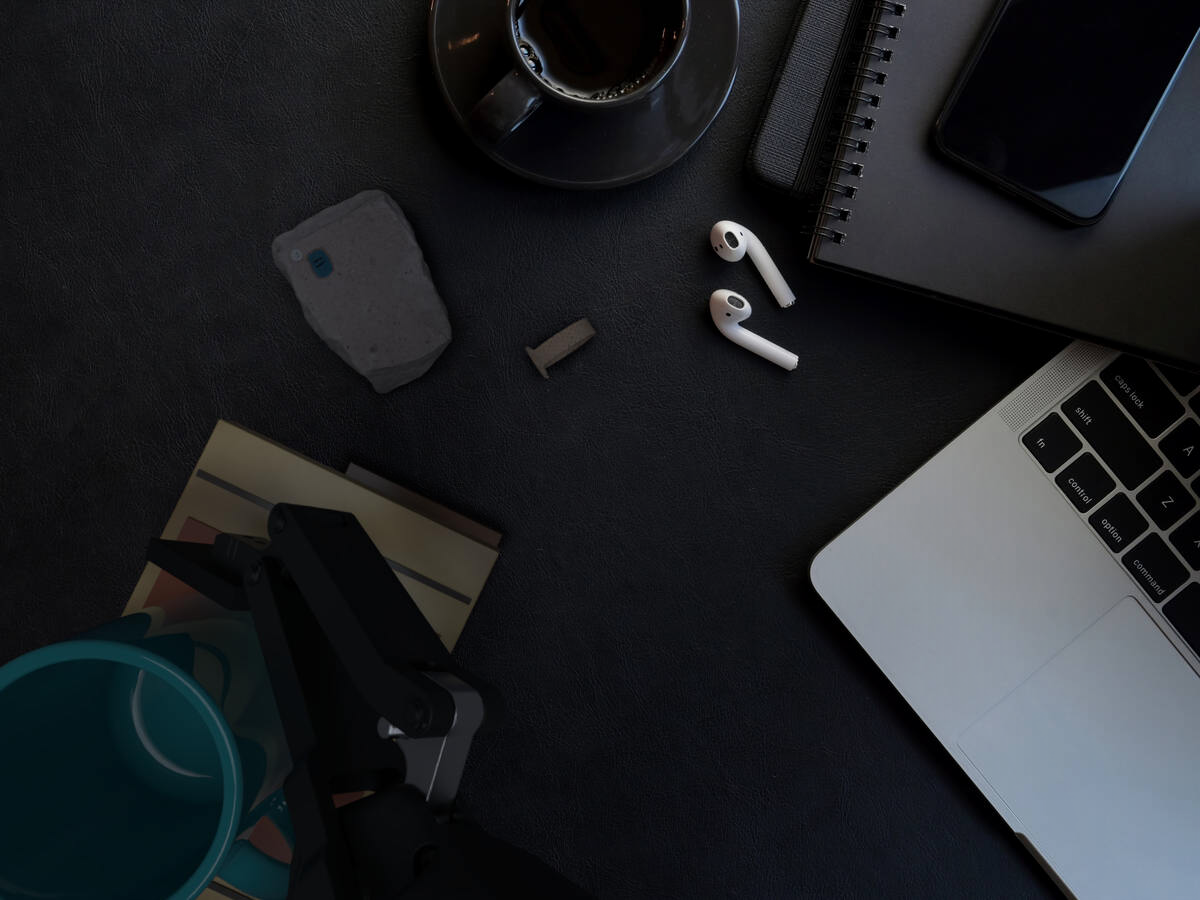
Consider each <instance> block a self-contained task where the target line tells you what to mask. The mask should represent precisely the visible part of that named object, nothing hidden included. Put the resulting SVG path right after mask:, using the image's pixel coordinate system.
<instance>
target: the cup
mask: <svg viewBox="0 0 1200 900" xmlns="http://www.w3.org/2000/svg"><path fill="white" fill-rule="evenodd" d="M292 770H293V762H292V758H291V754H290V751H289V747H288V744H287V740H286V736H285V733H284V729H283V726H282V722H281V718H280V715H279V711H278V708H277V704H276V700H275V697H274V693H273V690H272V686H271V682H270V679H269V675H268V672H267V668H266V664H265V661H264V657H263V654H262V650H261V646H260V643H259V639H258V636H257V632H256V628H255V625H254V621H253V618H252V614H251V611H235V610H227V609H225V608H224V607H222V606H221V605H219V604H217V603H216V602H214V601H213V600H211V599H209V598H208V597H206V596H205V595H203V594H201V593H200V592H198V591H197V592H191V593H187V594H183V595H180V596H177V597H174V598H171V599H168V600H166V601H163V602H160V603H157V604H155V605H152V606H149V607H147V608H144V609H141V610H139V611H136V612H133V613H131V614H128V615H125V616H123V617H121V616H120V617H118V618H115V619H112V620H110V621H107V622H104V623H102V624H99V625H96V626H94V627H91V628H89V629H85V630H84V631H80V632H77V633H75V634H73V635H70V636H67V637H65V638H62V639H59V640H56V641H53V642H51V643H48V644H44V645H43V646H41V647H37V648H35V649H32V650H30V651H28V652H25V653H23V654H21V655H19V656H17V657H15V658H14V659H12V660H10V661H8V662H6V663H5V664H3V665H2V666H1V667H0V900H195V899H196V898H197V897H198V896H199V895H200V894H201V893H202V892H203V891H204V890H205V889H206V888H207V887H208V885H209V884H210V883H211V882H212V881H213V879H214V878H215V877H218V878H220V879H222V880H223V881H225V882H226V883H228V884H229V885H231V886H233V887H234V888H236V889H237V890H239V891H241V892H243V893H245V894H247V895H249V896H251V897H254V898H257V899H260V900H285V899H286V897H287V894H288V885H289V875H290V865H291V864H289V863H285V862H282V861H280V860H277V859H275V858H273V857H271V856H269V855H268V854H266V853H264V852H263V851H261V850H260V849H259V848H257V847H256V846H255V845H253V844H252V843H251V842H250V841H249V838H250V835H251V834H252V832H253V831H254V829H255V827H256V826H257V825H258V823H259V822H260V821H261V820H262V818H263V817H264V816H265V817H267V818H268V819H269V820H270V821H271V822H272V823H273V825H274V826H275V827H276V828H277V830H278V831H279V832H280V834H281V835H282V837H283V838H284V840H285V842H286V844H287V845H288V848H289V850H290V852H291V855H293V851H294V847H295V843H296V837H295V833H294V830H293V826H292V822H291V818H290V815H289V811H288V807H287V803H286V799H285V796H284V792H283V782H284V779H285V777H286V776H287V775H288V774H289V773H290V772H291V771H292Z"/></svg>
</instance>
